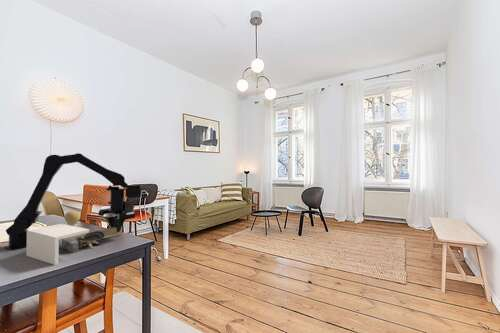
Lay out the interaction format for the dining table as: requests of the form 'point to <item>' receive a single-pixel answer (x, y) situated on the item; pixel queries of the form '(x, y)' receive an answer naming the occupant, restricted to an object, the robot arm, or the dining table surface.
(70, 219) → the light bulb
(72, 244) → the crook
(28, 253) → the low shelf
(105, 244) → the dining table surface
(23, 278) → the dining table surface
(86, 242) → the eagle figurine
